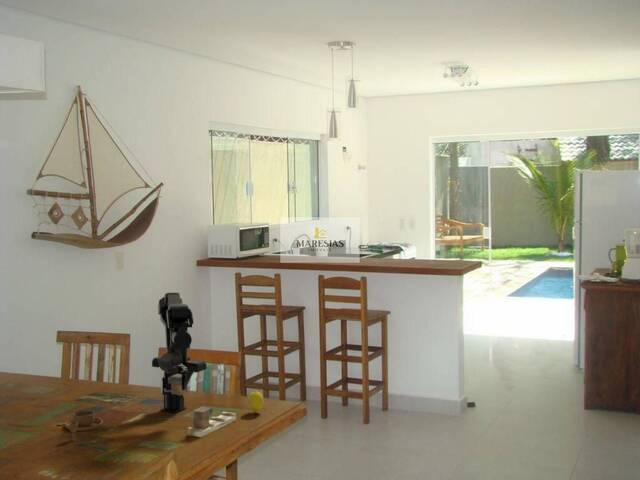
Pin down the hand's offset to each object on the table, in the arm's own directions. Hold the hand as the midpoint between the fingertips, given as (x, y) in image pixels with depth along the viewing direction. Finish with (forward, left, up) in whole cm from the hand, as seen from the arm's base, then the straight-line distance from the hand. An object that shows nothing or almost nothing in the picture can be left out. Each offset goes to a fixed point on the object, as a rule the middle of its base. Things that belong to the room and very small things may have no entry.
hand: (179, 389), depth 256 cm
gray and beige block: (0, 0, -1) cm, 1 cm away
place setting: (-26, -21, -12) cm, 35 cm away
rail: (+13, +1, -12) cm, 17 cm away
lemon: (+17, +22, -12) cm, 30 cm away
